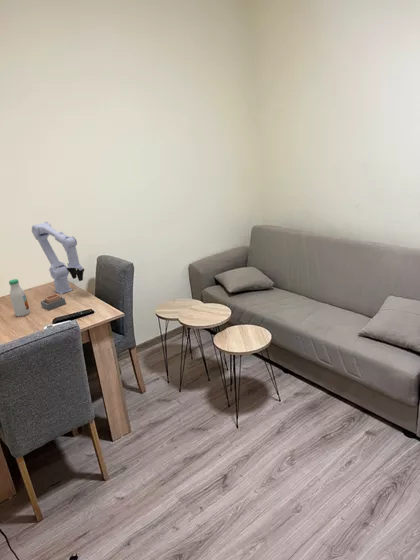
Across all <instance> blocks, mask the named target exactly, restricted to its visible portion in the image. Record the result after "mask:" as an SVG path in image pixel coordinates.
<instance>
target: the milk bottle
mask: <svg viewBox="0 0 420 560" xmlns="http://www.w3.org/2000/svg"><path fill="white" fill-rule="evenodd" d="M8 284H9V286H10V291H9V297H10V302H11V306H12V308H13V312H14V315H15V317H23V316H26V315H29V314H30V312H31V310H30V307H29V303H28V299H27V296H26V293H25V291H24V289H23V288H22V287H21V286H20V282H19V279H17V278H14V279H11V280H9V281H8Z"/></svg>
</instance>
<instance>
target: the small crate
mask: <svg viewBox="0 0 420 560" xmlns="http://www.w3.org/2000/svg"><path fill="white" fill-rule="evenodd" d="M60 296H61V294H59V293H53V294H51V295H48V296H45V297H44V300H45V301H46V303H47V304H49V303H52V302H55V301H57V300H60V299H61V297H62V296H61V297H60Z"/></svg>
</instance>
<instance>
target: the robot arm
mask: <svg viewBox="0 0 420 560" xmlns="http://www.w3.org/2000/svg"><path fill="white" fill-rule="evenodd" d="M31 232H32V235H33V236H34V238H35V240H37V241H38V243H39V245H40V248H41V249H42V251H43V252H44V255H45V257H46V258H47V260H48V262H49V263H50V267H49V270H48V271H49V274H50V276H51V278H52V279H53V285H54V288H55V290H54V292H55V293H57V294H59V295H62V294H66V293H69V292H71V291H74V289H73V288H71V286H70V282H69V279H68V277H69V275H70V276H71V278H72V279H73V280H74V279H77V280H78V281H79V282H81V281H83V280H84V272H85V268H84V267H83V266H82V264H81V263H80V260H79V255H78V251H77V245H78V241H77V239H76V237H74V236H68V235H67V234H65V232H64V233H63V231H57V230H56V229H55V228H53V227H52V225H51V223H49V222H48V221H44V222H42V223H37V224H32V226H31ZM49 236H52V237H53V238H54V239H55V241H56V242H58V243H59V244H61V246H62V247H63V249H64V251H65V253H66V257H67V261H68V263H67V265H66V264H65V263H64V262H61V261H60V260H59V258H58V256H57V254H56V253H55V250H54V249H53V247H52V245H51V243H50V241H49V240H48V237H49Z"/></svg>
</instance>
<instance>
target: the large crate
mask: <svg viewBox="0 0 420 560" xmlns="http://www.w3.org/2000/svg"><path fill="white" fill-rule="evenodd" d="M60 297H61V299H60V300H57V301H55V302H52V303H49V304H47V303H46V301H45V299H44V300H41V301H40V305H41V307H42V308H43V309H45V310H47V311H51V310H53V309H57V308H59V307H62V306H64V305H67V302H66V298H64V297H62V296H61V295H60Z"/></svg>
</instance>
